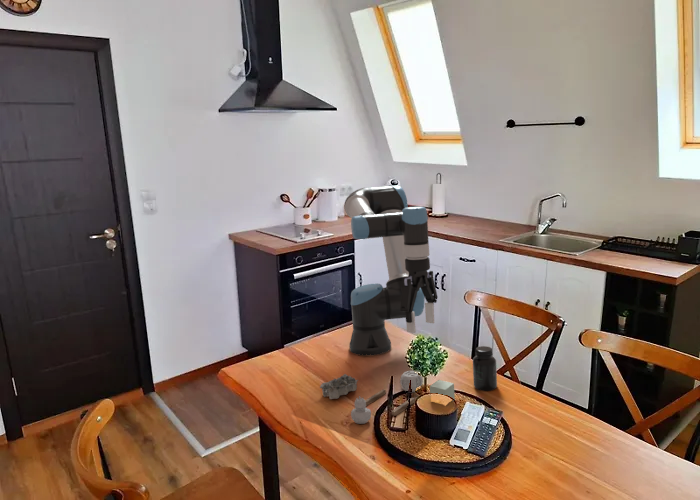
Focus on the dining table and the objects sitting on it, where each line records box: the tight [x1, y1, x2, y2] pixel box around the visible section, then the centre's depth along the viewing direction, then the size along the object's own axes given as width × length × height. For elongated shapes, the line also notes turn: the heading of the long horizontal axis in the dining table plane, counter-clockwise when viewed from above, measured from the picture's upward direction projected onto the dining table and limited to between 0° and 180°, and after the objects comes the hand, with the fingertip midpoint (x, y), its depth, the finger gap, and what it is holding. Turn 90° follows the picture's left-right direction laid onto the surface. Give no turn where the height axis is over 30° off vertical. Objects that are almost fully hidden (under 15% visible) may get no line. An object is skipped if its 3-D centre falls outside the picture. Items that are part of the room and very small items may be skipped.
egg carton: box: [319, 373, 359, 400], centre depth 153 cm, size 11×8×4 cm
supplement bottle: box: [472, 345, 498, 392], centre depth 150 cm, size 7×7×12 cm
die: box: [399, 370, 424, 393], centre depth 153 cm, size 5×5×5 cm
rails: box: [364, 389, 416, 417], centre depth 144 cm, size 10×12×1 cm
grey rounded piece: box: [350, 394, 372, 425], centre depth 135 cm, size 5×7×8 cm
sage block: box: [429, 379, 456, 401], centre depth 144 cm, size 5×5×5 cm
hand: (421, 327), depth 156 cm, fingers open, 10 cm apart
